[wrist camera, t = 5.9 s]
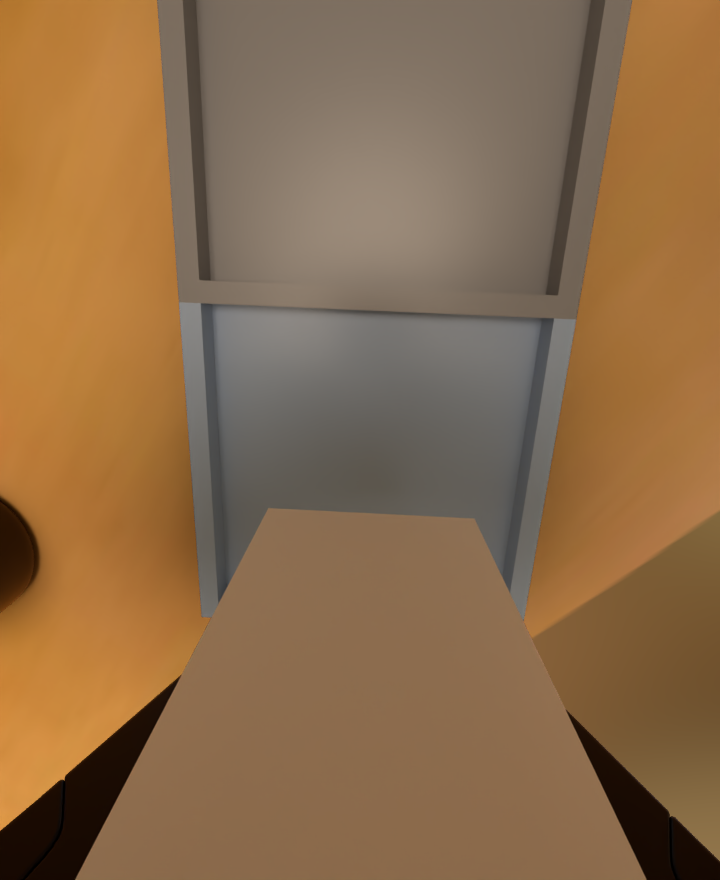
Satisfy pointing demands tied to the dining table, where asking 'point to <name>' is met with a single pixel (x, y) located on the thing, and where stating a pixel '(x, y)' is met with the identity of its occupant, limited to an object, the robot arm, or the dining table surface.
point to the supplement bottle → (13, 557)
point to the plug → (363, 725)
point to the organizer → (381, 254)
